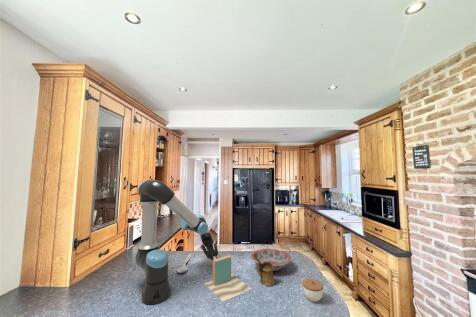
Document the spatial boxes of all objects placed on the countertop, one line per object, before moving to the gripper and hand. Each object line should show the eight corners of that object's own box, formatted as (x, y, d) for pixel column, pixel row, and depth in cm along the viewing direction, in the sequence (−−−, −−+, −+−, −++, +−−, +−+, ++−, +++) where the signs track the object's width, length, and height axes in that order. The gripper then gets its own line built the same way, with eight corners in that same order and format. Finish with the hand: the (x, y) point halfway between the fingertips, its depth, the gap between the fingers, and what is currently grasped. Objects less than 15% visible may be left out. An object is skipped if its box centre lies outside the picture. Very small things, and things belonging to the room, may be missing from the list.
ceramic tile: (212, 283, 120) (212, 260, 121) (228, 277, 127) (228, 255, 128) (215, 286, 117) (215, 261, 119) (231, 279, 124) (231, 256, 126)
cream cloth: (204, 284, 120) (204, 283, 120) (230, 274, 132) (230, 273, 132) (223, 303, 103) (223, 301, 103) (251, 289, 115) (251, 288, 115)
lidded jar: (321, 294, 110) (320, 276, 111) (325, 306, 99) (325, 287, 100) (301, 291, 112) (301, 274, 113) (303, 303, 102) (303, 284, 103)
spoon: (185, 275, 132) (186, 271, 132) (174, 276, 132) (174, 271, 132) (195, 256, 167) (195, 253, 167) (185, 256, 166) (185, 253, 167)
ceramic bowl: (290, 280, 124) (289, 267, 125) (246, 274, 133) (245, 261, 134) (292, 261, 151) (292, 251, 152) (256, 257, 161) (255, 247, 161)
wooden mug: (251, 280, 125) (251, 251, 127) (272, 278, 127) (271, 249, 129) (254, 287, 116) (254, 256, 118) (276, 286, 118) (275, 255, 120)
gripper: (211, 236, 148) (223, 267, 134) (195, 239, 141) (206, 272, 126) (214, 230, 145) (227, 261, 130) (198, 233, 137) (210, 267, 122)
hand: (217, 267), depth 128 cm, fingers closed
